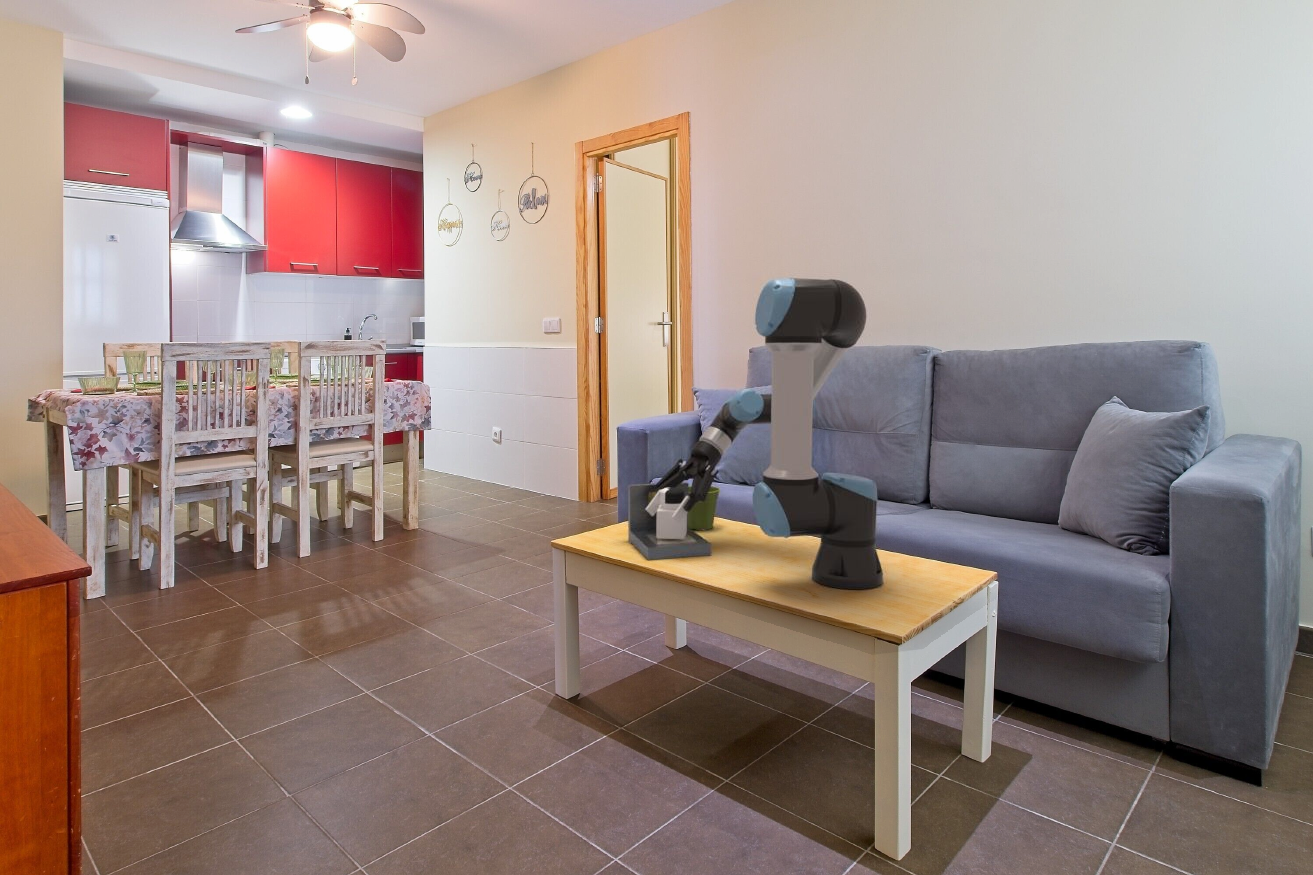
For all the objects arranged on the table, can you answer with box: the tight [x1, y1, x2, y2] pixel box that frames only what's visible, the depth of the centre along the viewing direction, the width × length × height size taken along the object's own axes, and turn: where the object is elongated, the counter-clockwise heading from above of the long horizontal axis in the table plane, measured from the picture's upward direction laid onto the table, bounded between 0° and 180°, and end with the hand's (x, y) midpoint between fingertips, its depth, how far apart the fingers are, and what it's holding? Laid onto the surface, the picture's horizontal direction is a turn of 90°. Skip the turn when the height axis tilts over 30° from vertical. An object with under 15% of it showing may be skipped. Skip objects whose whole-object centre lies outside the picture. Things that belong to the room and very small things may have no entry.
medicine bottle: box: [656, 487, 687, 539], centre depth 192 cm, size 7×7×12 cm
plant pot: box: [688, 485, 722, 531], centre depth 218 cm, size 12×12×11 cm
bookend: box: [627, 481, 712, 560], centre depth 195 cm, size 20×16×15 cm
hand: (662, 516), depth 190 cm, fingers open, 10 cm apart
